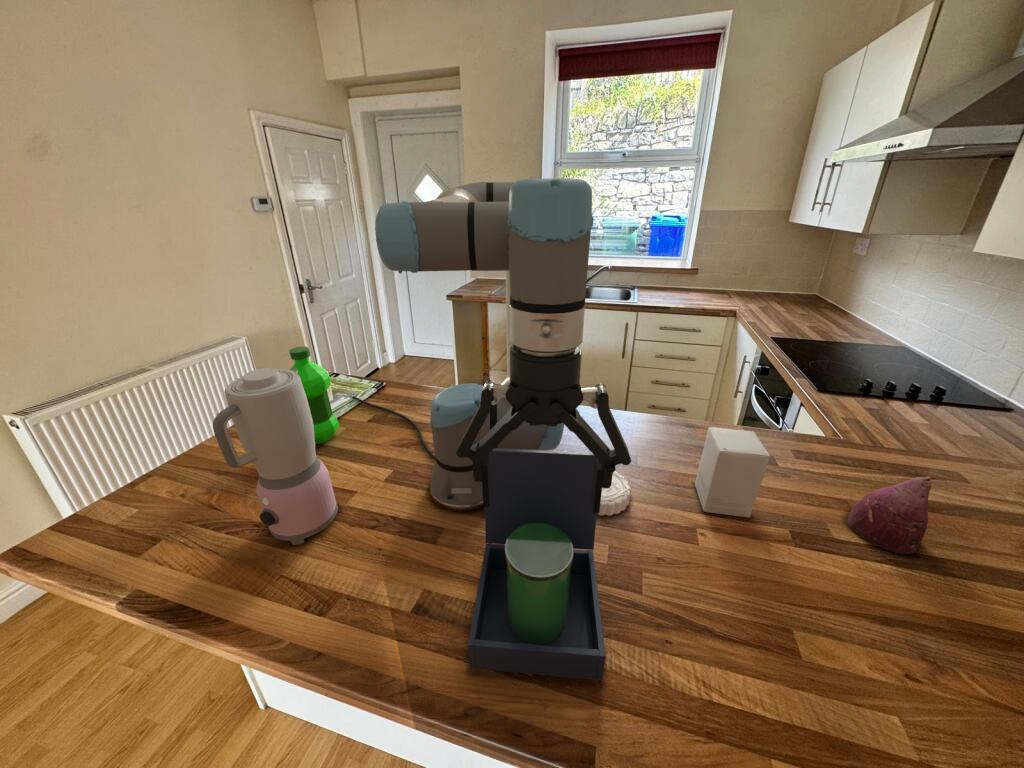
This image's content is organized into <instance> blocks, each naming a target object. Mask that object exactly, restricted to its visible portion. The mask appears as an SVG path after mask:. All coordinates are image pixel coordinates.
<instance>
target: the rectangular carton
mask: <svg viewBox="0 0 1024 768" xmlns="http://www.w3.org/2000/svg"><path fill="white" fill-rule="evenodd" d="M770 459H771V455H770V454H769V453H768V451H767V449H766V447H765V446H764V445H763V443H762V441H761V440H760V439H759V437H758V435H757V434H756V432H755V431H752V430H744V429H743V430H742V429H734V428H733V429H732V428H731V429H730V428H723V427H713V426H712V427H711V426H709V427H708V428H707V433H706V436H705V441H704V445H703V449H702V454H701V458H700V461H699V466H698V470H697V474H696V478H695V482H694V486H695V489H696V493H697V495H698V499H699V502H700V505H701V508H702V511H703V512H705V513H711V514H717V515H718V514H720V515H727V516H734V517H741V518H751V515H752V512H753V510H754V506H755V503H756V500H757V497H758V495H759V492H760V489H761V486H762V484H763V480H764V477H765V474H766V472H767V471H766V470H767V467H768V465H769V462H770Z"/></svg>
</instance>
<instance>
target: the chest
mask: <svg viewBox="0 0 1024 768" xmlns="http://www.w3.org/2000/svg"><path fill="white" fill-rule="evenodd" d="M484 547H485V548H484V553H483V559H482V564H481V570H480V575H479V581H478V587H477V591H476V597H475V604H474V608H473V614H472V619H471V625H470V631H469V636H468V641H467V651H468V662H469V669H474V670H475V669H476V670H486V671H487V670H488V671H496V672H497V671H498V672H509V673H510V672H511V673H521V674H530V675H531V674H533V675H542V676H543V675H544V676H555V677H567V678H577V679H589V680H601V681H603V675H604V670H605V664H606V657H607V656H606V647H605V640H604V630H603V623H602V614H601V605H600V597H599V589H598V588H599V587H598V579H597V573H596V564H595V555H594V549H593V550H588V549H574V556H573V561H572V564H571V574H570V586H569V598H568V610H567V621H566V625H565V628H564V630H563V632H562V633H561V635H560V636H559V637H558V638H556V639H555V640H553V641H551V642H549V643H546V644H531V643H528V642H525V641H523V640H522V639H520V638H519V637H518V636H517V635H516V634H515V633H514V632H513V631H512V629H511V627H510V625H509V623H508V618H507V573H506V557H505V544H494V543H485V546H484Z"/></svg>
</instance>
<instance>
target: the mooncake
mask: <svg viewBox="0 0 1024 768" xmlns="http://www.w3.org/2000/svg"><path fill="white" fill-rule="evenodd" d="M631 491H632V489H631V486H630V482H629V480H626V478H625V476H623V475H621V474H620V473H619V472H617V471H616V470H615V471H614V472H613V475H612V483H611V486H610V488H602V493H601V502H600V511H599V513H597V516H605V515H606V516H607V517H608V516H609V517H610V516H612V515H618V514H620V513H621V512H623V511H625V510H626V509H627V507H628V506H629V504H630V499H631Z"/></svg>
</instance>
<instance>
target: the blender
mask: <svg viewBox="0 0 1024 768" xmlns="http://www.w3.org/2000/svg"><path fill="white" fill-rule="evenodd" d="M297 373H298V370H296V369H290V368H289V369H285V368H272V367H267V368H266V367H263V368H258V369H253V370H251V371H248V372H246V373H245V374H243V375H242V376H240V377H238V378H235V379H234V380H232V381H231V382H229V383H228V384H227V386H226V387H225V389H224V395H225V399H226V403H227V407H225V408H224V409H222V410H220V411H219V412H218V413H217V414H216V416H214V419H213V422H212V430H213V433H214V436H215V439H216V442H217V444H218V447H219V449H220V451H221V453H222V456H223V458H224V460H225V462H226V464H227V466H228V467H229V468H233V469H239V468H243V467H244V466H247V465H248V464H252V465H253V467H254V468H255V469H256V471H257V473H258V480H257V483H256V495H257V500H258V503H259V505H260V508H261V511H262V512H261V513H260V514H259V520H260V521H261V523H262V524H264V525H265V526H267V527H268V529H269V532H270V534H271V536H273V538H275V539H277V540H280V541H285V542H286V541H287V542H290V543H291V545H292V546H296V545H303V544H305V542H306V541H305V539H307V538H309V537H312V536H314V535H316V534H318V533H320V532H321V531H323V530H324V529H325V528H327V527H328V526H329V525H330V524H331V523H332V522H333V521H334V519H335V518H336V516H337V514H338V512H339V505H338V501H337V499H336V496H335V492H334V488H333V483H332V479H331V476H330V472H329V470H328V467H326V465H325V464H324V462H323V461H322V460H321V459H319V458H318V456H317V453H316V443H315V437H314V425H313V420H312V416H311V412H310V408H309V404H308V400H307V397H306V394H305V391H304V388H303V385H302V382H301V379H300V376H299V375H298V374H297ZM230 420H232V424H233V426H234V429H235V431H236V435H237V438H238V440H239V441H240V444H241V446H242V448H243V450H244V452H245V453H244V454H241V455H238V453H237V450H236V447H235V445H234V443H233V440H232V437H231V435H230V432H229V429H228V423H229V421H230Z"/></svg>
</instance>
